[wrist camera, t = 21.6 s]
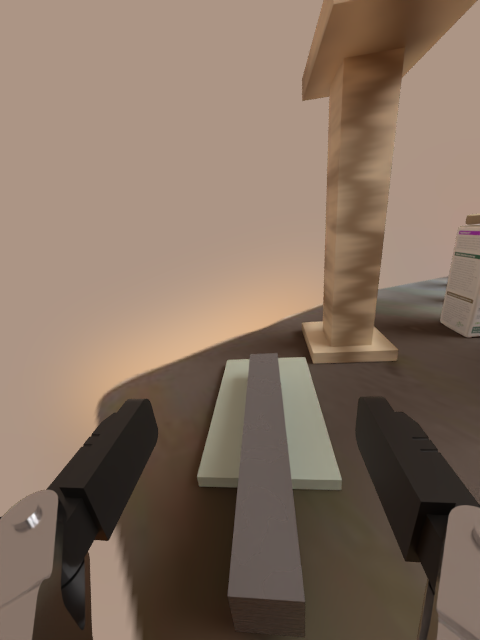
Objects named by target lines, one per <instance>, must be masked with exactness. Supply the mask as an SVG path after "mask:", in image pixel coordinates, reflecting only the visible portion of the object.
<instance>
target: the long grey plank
mask: <svg viewBox="0 0 480 640" xmlns="http://www.w3.org/2000/svg"><path fill="white" fill-rule="evenodd" d="M228 601H229V605H230V610H231V614H232V619H233V623H234V628H235V631H237V632H249V633H260V634H272V635H283V636H295V637H305V597H304V588H303V579H302V570H301V561H300V552H299V543H298V534H297V525H296V516H295V507H294V498H293V489H292V480H291V471H290V462H289V453H288V444H287V435H286V426H285V417H284V408H283V399H282V390H281V381H280V372H279V363H278V354H277V353H267V354H250V360H249V371H248V382H247V392H246V403H245V414H244V425H243V435H242V446H241V457H240V467H239V478H238V489H237V500H236V510H235V521H234V532H233V543H232V553H231V564H230V575H229V585H228Z"/></svg>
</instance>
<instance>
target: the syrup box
mask: <svg viewBox="0 0 480 640" xmlns="http://www.w3.org/2000/svg"><path fill="white" fill-rule="evenodd" d="M440 322H441V323H442V324H444V325H445V326H447V327H448V328H450V329H452V330H454V331H456V332H457V333H459V334H461V335H463V336H465V337H467V338H470V337H475V336H480V224H473V225H465V226H460V227H459V228H458V232H457V237H456V242H455V247H454V253H453V258H452V262H451V268H450V273H449V278H448V283H447V288H446V293H445V298H444V303H443V308H442V313H441V318H440Z"/></svg>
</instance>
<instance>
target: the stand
mask: <svg viewBox="0 0 480 640" xmlns="http://www.w3.org/2000/svg"><path fill="white" fill-rule="evenodd" d="M476 1H477V0H324V1H323V4H322V8H321V12H320V16H319V19H318V23H317V26H316V30H315V34H314V38H313V42H312V45H311V49H310V53H309V56H308V60H307V64H306V67H305V71H304V74H303V78H302V100H303V101H304V100H311V99H317V98H323V97H329V96H330V99H329V132H328V167H327V201H326V234H325V267H324V269H325V270H324V302H323V321H322V322H304V323H302V332H303V335H304V338H305V341H306V344H307V347H308V350H309V353H310V356H311V358H312V361H313V364H316V363H346V362H376V361H397V357H398V349H397V348H396V347H395V346H394V345H393V344H392V343H391V342H390V341H389V340H388V339H387V338H386V337H385V336H384V335H383V334H382V333H381V332H379V331H378V330H377V329H376V328H375V327H374V320H375V311H376V302H377V293H378V284H379V275H380V267H381V258H382V249H383V239H384V231H385V222H386V213H387V204H388V195H389V187H390V178H391V169H392V160H393V151H394V142H395V133H396V123H397V115H398V107H399V98H400V89H401V79H402V77H403V76H404V75H405V74H406V73H407V72H408V71H409V70H410V69H411V68H412V67H413V66H414V65H415V64H416V63H417V62H418V61H419V60H420V59H421V58H422V57H423V56H424V55H425V54H426V53H427V51H429V50H430V49H431V48H432V46H433V45H434V44H435V43H436V42H437V41H438V40H439V39H440V38H441V37H442V36H443V35H444V34H445V33H446V32H447V31H448V30H449V29H450V28H451V27H452V26H453V25H454V24H455V23H456V22H457V21H458V20H459V19H460V18H461V17H462V16H463V15H464V14H465V12H466V11H467V10H469V8H470V7H471V6H472V5H473V4H474V3H475V2H476Z"/></svg>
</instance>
